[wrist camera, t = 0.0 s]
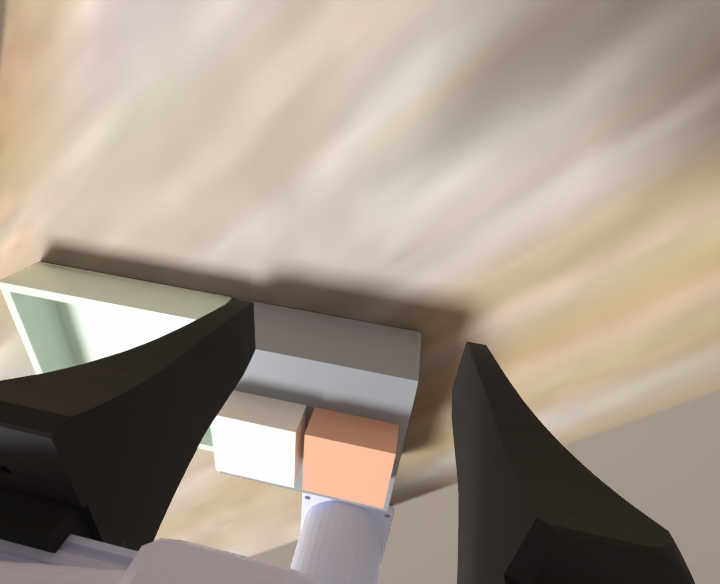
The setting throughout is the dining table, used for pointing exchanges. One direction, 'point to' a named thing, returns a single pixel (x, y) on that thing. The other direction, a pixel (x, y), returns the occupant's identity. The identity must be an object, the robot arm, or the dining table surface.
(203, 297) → the green bin
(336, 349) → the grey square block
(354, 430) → the terracotta tile
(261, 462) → the cream tile
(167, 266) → the dining table surface
